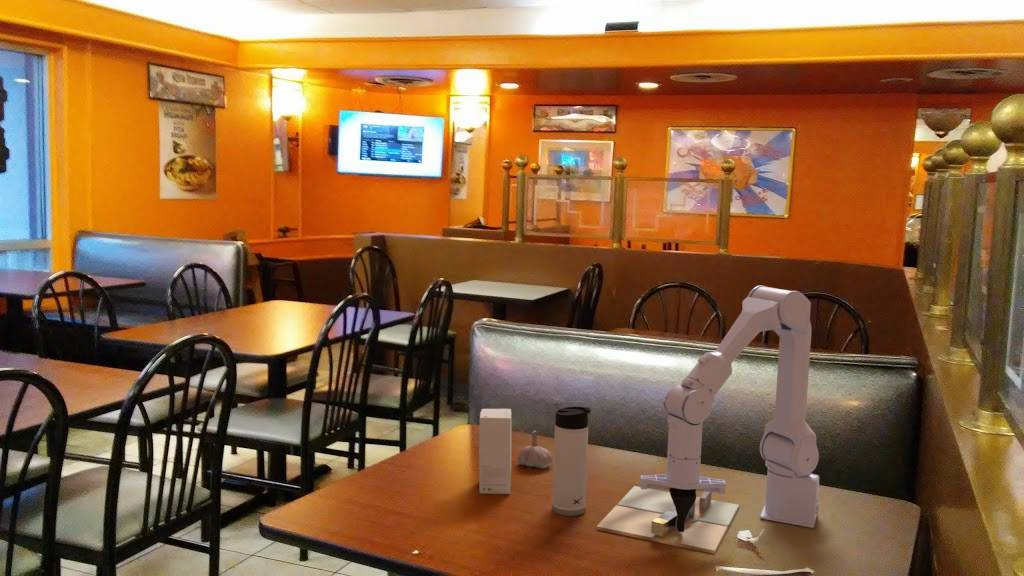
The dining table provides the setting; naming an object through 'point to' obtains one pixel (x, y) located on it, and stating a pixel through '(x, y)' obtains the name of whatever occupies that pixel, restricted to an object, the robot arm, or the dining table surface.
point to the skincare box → (495, 451)
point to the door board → (649, 504)
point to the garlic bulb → (535, 455)
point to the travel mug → (570, 461)
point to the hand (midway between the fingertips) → (680, 529)
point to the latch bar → (668, 521)
